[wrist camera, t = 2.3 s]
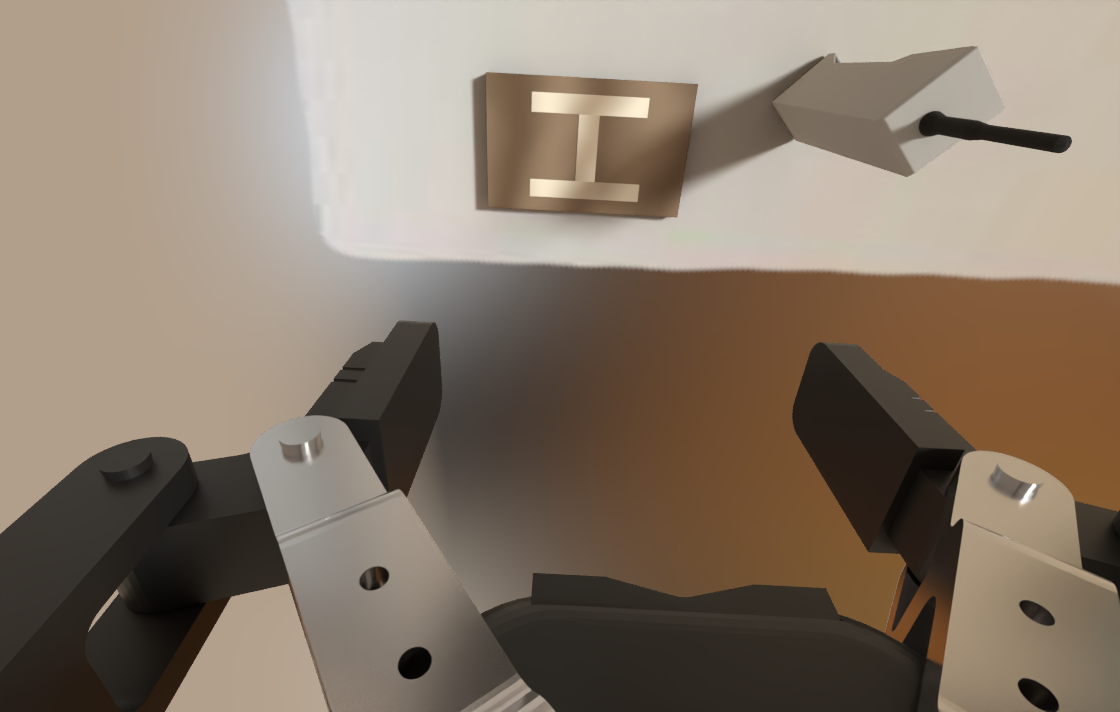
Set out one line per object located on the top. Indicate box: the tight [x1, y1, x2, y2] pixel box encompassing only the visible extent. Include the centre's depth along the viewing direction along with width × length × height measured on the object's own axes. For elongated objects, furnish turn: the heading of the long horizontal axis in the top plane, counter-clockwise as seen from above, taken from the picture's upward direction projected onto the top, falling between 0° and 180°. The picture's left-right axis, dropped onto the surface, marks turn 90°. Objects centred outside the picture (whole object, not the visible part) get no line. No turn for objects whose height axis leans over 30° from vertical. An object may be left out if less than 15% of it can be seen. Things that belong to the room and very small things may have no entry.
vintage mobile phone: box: [772, 46, 1072, 177], centre depth 30 cm, size 4×5×25 cm
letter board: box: [486, 72, 698, 217], centre depth 42 cm, size 16×10×1 cm, turn 87°
